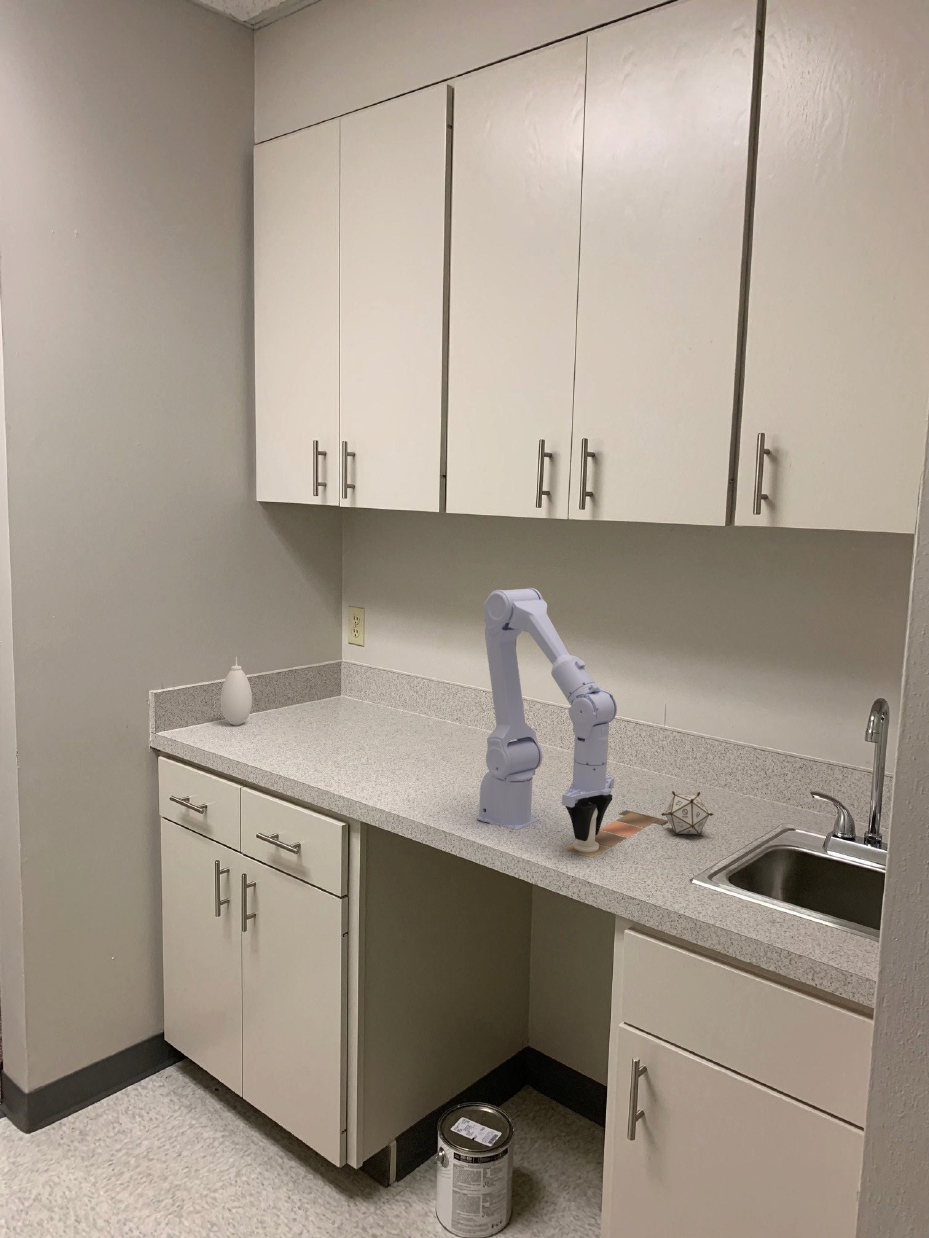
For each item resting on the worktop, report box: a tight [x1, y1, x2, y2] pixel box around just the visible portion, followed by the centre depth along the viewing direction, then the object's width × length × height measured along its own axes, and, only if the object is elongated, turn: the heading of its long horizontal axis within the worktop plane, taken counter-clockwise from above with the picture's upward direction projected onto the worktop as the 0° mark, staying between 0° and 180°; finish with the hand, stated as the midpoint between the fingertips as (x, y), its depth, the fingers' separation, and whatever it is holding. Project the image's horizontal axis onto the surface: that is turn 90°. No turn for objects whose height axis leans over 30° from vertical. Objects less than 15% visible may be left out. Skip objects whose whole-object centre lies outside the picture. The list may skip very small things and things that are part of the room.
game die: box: [660, 790, 715, 837], centre depth 173 cm, size 9×8×10 cm
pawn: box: [572, 803, 600, 853], centre depth 164 cm, size 4×4×8 cm
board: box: [562, 809, 669, 859], centre depth 172 cm, size 9×28×1 cm, turn 143°
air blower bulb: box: [220, 656, 253, 726], centre depth 243 cm, size 8×8×18 cm
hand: (586, 836), depth 164 cm, fingers closed on pawn, 3 cm apart
